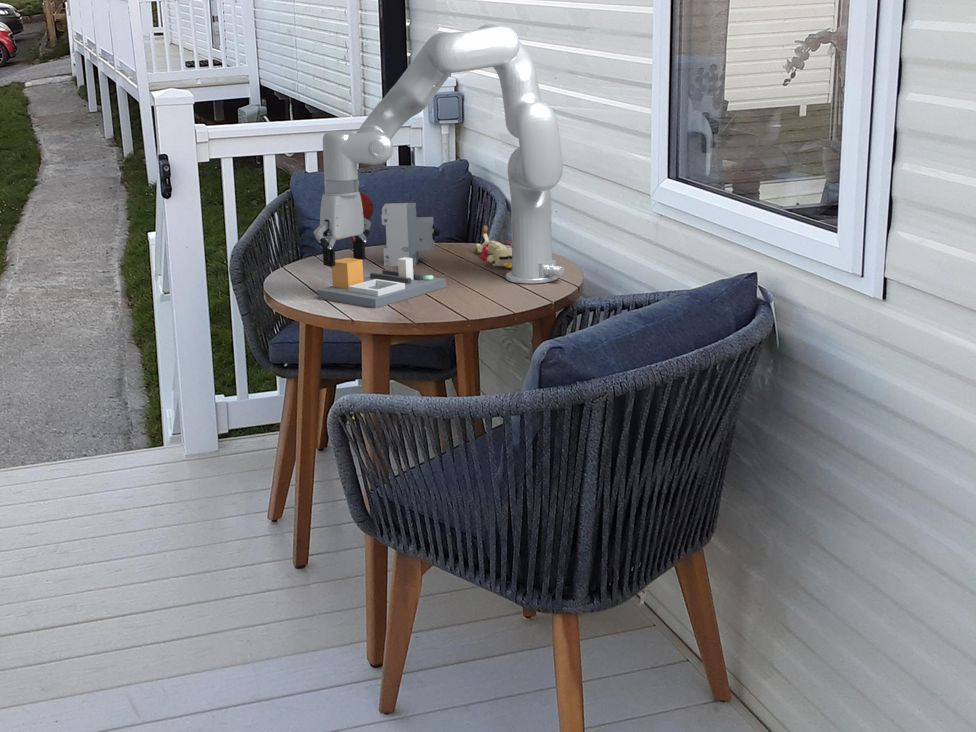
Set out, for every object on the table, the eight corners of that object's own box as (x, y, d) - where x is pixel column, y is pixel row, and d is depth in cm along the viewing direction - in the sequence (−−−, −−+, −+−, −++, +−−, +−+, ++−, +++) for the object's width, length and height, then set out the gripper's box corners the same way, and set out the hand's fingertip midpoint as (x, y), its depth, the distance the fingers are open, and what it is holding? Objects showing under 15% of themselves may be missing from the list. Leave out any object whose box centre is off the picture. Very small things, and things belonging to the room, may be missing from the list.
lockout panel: (445, 287, 274) (445, 273, 273) (375, 308, 256) (374, 293, 255) (389, 278, 285) (388, 266, 284) (317, 298, 266) (317, 284, 266)
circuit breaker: (439, 265, 299) (437, 206, 295) (384, 266, 299) (381, 208, 295) (441, 259, 306) (439, 202, 302) (387, 260, 307) (384, 203, 302)
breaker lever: (413, 279, 273) (412, 258, 272) (406, 281, 271) (405, 259, 270) (405, 278, 274) (404, 257, 273) (398, 280, 273) (397, 258, 271)
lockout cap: (363, 285, 269) (362, 259, 267) (348, 289, 265) (347, 263, 264) (348, 282, 272) (346, 257, 270) (332, 286, 268) (331, 261, 267)
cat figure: (466, 259, 313) (491, 269, 289) (465, 226, 311) (489, 234, 287) (502, 256, 315) (529, 266, 291) (501, 223, 313) (528, 231, 290)
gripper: (356, 182, 271) (359, 254, 276) (301, 190, 258) (305, 266, 263) (380, 184, 267) (382, 258, 271) (325, 193, 253) (329, 270, 258)
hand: (344, 262), depth 267 cm, fingers open, 9 cm apart
